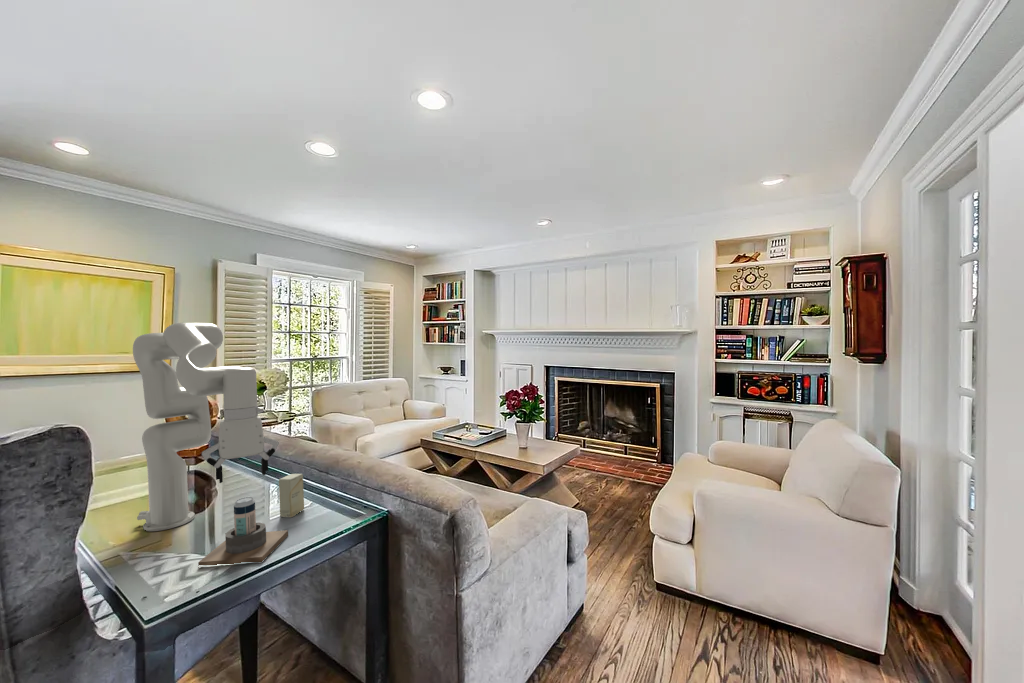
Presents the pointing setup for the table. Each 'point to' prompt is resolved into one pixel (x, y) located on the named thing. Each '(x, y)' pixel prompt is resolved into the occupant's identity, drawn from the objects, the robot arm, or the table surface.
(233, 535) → the can holder
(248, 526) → the beer can
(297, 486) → the skincare box
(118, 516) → the table surface
